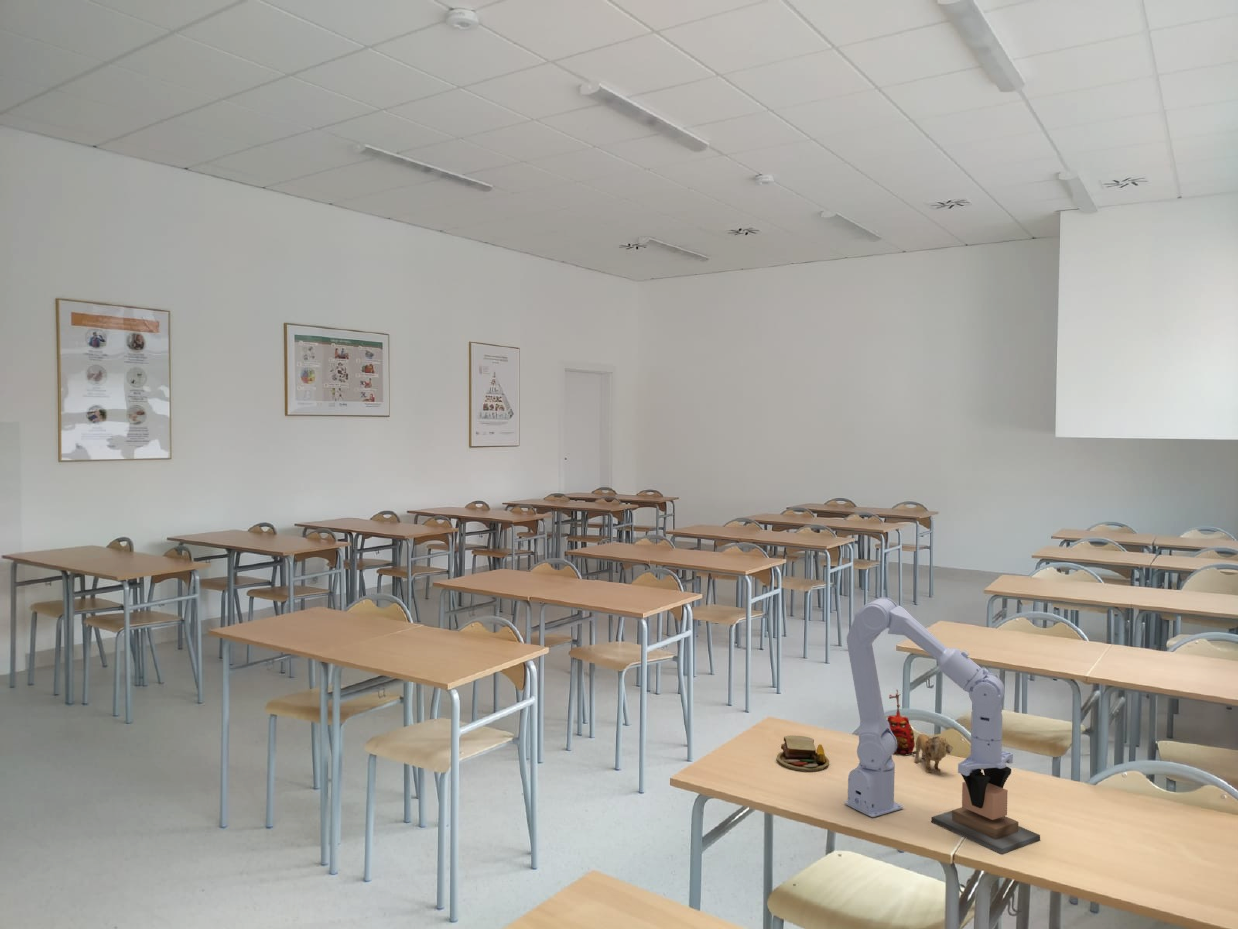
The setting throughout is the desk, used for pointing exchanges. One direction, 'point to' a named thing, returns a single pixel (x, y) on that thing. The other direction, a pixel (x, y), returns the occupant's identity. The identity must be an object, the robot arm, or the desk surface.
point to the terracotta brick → (988, 801)
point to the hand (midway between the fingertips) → (985, 804)
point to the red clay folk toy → (901, 731)
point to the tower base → (987, 840)
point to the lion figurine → (932, 750)
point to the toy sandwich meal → (802, 754)
